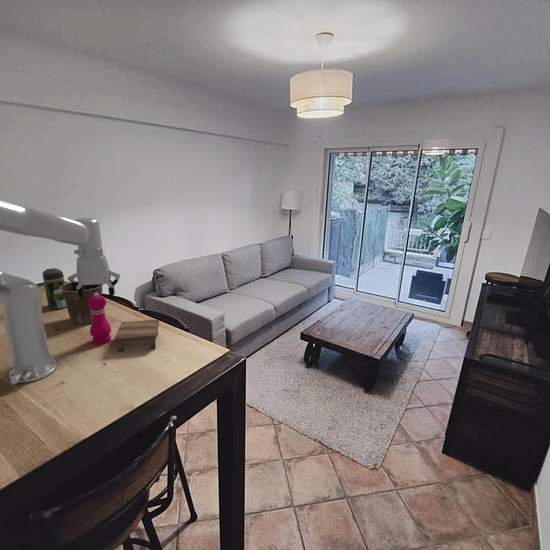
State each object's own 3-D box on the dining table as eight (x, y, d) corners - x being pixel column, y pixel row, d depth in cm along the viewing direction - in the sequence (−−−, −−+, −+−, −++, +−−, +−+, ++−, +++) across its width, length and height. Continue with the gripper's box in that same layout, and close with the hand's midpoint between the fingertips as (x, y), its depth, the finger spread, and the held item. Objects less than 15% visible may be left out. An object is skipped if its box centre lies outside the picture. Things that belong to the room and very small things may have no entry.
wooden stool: (156, 349, 120) (155, 335, 118) (115, 353, 116) (114, 338, 115) (159, 332, 133) (158, 319, 131) (123, 335, 129) (121, 322, 128)
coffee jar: (46, 305, 155) (40, 268, 150) (65, 301, 160) (60, 266, 155) (50, 311, 149) (43, 273, 143) (70, 307, 154) (64, 270, 148)
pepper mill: (116, 337, 128) (110, 290, 122) (105, 346, 121) (98, 296, 115) (99, 335, 128) (92, 288, 123) (87, 344, 122) (80, 295, 116)
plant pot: (69, 314, 147) (64, 280, 142) (109, 310, 152) (105, 278, 148) (61, 329, 132) (55, 293, 128) (105, 325, 138) (100, 289, 133)
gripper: (59, 256, 109) (68, 302, 114) (115, 254, 113) (120, 299, 119) (67, 251, 116) (74, 295, 121) (119, 249, 120) (124, 292, 126)
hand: (97, 297), depth 120 cm, fingers open, 9 cm apart
